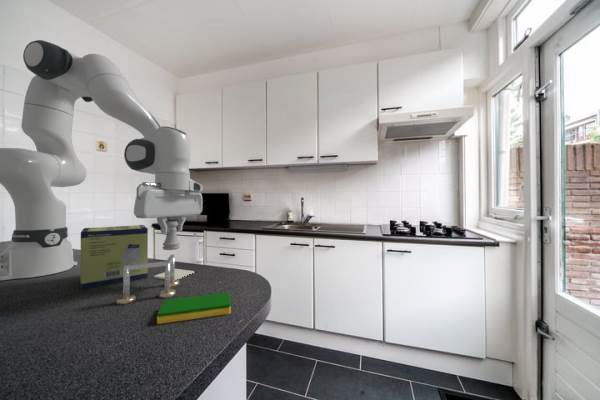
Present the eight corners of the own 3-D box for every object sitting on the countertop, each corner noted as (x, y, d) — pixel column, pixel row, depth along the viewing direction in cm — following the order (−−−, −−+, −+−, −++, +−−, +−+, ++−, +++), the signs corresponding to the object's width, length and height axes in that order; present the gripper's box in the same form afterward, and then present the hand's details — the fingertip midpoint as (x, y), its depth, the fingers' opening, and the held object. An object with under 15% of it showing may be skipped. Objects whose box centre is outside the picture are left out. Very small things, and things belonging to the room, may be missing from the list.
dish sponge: (164, 310, 52) (164, 299, 52) (229, 301, 57) (229, 291, 57) (156, 326, 45) (156, 314, 45) (230, 315, 50) (230, 304, 50)
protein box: (82, 279, 70) (82, 227, 70) (144, 270, 80) (144, 224, 80) (79, 290, 62) (79, 231, 62) (148, 278, 72) (149, 227, 72)
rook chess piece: (183, 247, 69) (183, 220, 69) (172, 250, 65) (173, 222, 65) (170, 246, 70) (170, 220, 70) (158, 249, 66) (159, 221, 66)
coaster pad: (153, 277, 72) (153, 275, 72) (175, 270, 79) (175, 268, 79) (174, 280, 69) (174, 278, 69) (194, 273, 77) (194, 271, 77)
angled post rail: (112, 303, 54) (113, 266, 54) (169, 281, 69) (170, 252, 69) (142, 310, 51) (143, 271, 51) (196, 285, 66) (196, 255, 66)
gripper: (146, 181, 56) (145, 238, 56) (206, 186, 76) (205, 228, 76) (128, 181, 59) (127, 236, 59) (191, 186, 78) (190, 227, 78)
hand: (171, 232), depth 67 cm, fingers closed on rook chess piece, 3 cm apart
